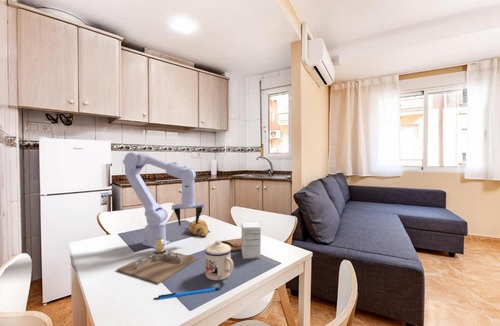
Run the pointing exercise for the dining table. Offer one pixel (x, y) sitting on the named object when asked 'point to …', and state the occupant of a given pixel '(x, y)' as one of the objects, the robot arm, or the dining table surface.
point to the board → (157, 268)
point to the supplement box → (251, 240)
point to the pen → (186, 293)
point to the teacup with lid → (218, 261)
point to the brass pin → (160, 246)
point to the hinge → (158, 258)
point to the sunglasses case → (234, 244)
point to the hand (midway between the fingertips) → (188, 224)
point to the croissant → (198, 228)
